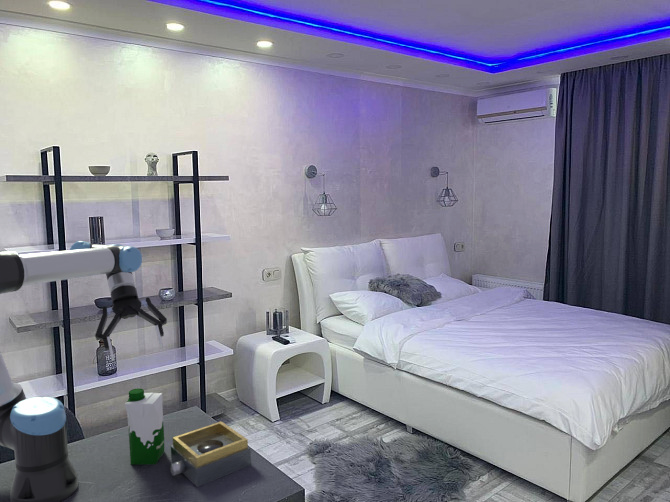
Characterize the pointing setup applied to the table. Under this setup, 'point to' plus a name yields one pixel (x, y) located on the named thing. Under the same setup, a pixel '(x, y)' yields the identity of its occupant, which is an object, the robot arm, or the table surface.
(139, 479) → the table surface
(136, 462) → the soya milk
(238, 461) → the wooden rimmed tray
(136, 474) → the table surface
